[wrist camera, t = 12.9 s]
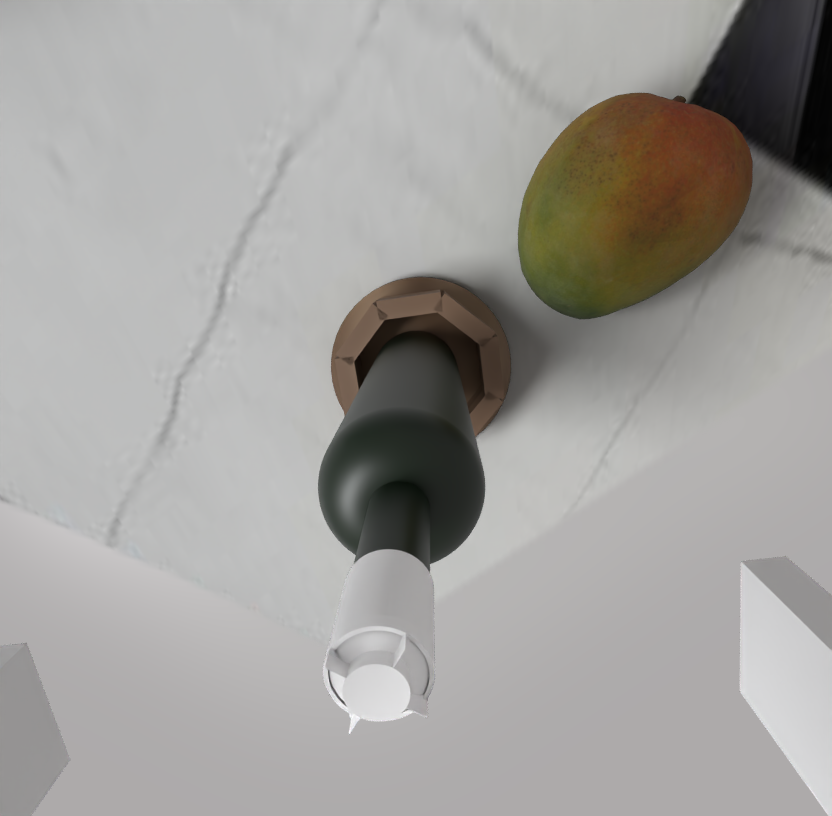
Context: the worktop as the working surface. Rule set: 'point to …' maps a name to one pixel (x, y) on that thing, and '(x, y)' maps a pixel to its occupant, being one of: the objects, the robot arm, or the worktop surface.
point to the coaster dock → (434, 313)
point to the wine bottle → (397, 522)
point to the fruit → (630, 202)
